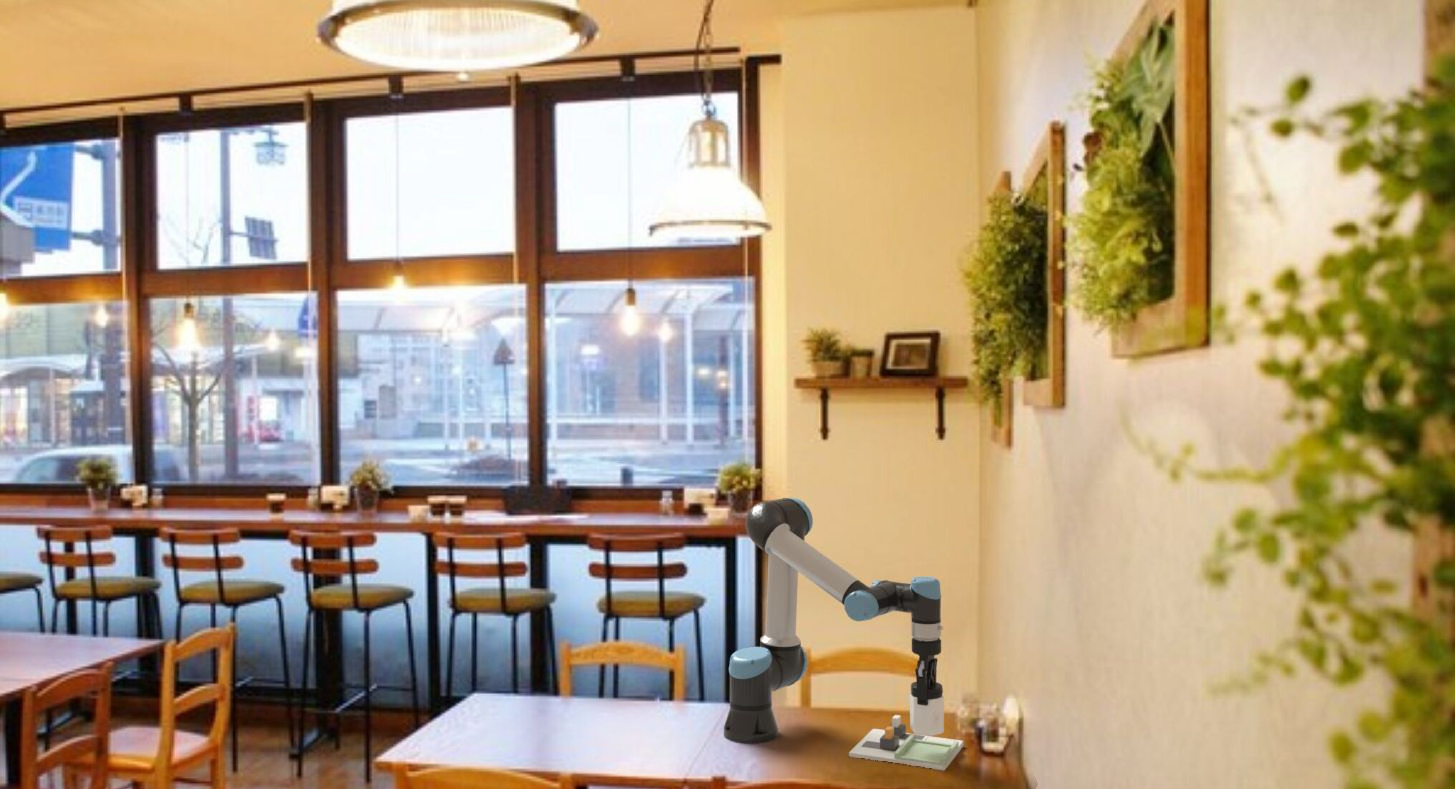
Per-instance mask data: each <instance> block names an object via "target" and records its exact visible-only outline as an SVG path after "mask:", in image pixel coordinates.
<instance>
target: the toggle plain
mask: <svg viewBox="0 0 1455 789" xmlns="http://www.w3.org/2000/svg"><path fill="white" fill-rule="evenodd" d="M906 725H907V724H905V723H902V715H899V714H895V715H893V716H892V718H891V722H890V723H889V724H888V726H891V727H894V735H895V736H899V738H902V737H903V736H904V735H905V734H906V733H907V729H906V728H907V726H906Z"/></svg>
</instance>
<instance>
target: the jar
mask: <svg viewBox="0 0 1455 789" xmlns="http://www.w3.org/2000/svg"><path fill="white" fill-rule="evenodd" d="M943 690H944V688H943V684H941V683H940V682H937V681H936V682H934V683H933V684H930V688H927V693H928V705H927V706H925V705H918V704H917V681H914V682H911V684H910V693H909V727H910V730H911V731H912V732H913V734H917V735H924V736H932V737H934V736H937V735H940V734H944V733H945V726H944V725H945V716H944V715H945V712H944V711H945V708H944V707H945V706H944V703H945V702H944V701H945V699H944V696H943V693H944V691H943Z"/></svg>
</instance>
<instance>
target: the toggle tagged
mask: <svg viewBox="0 0 1455 789" xmlns="http://www.w3.org/2000/svg"><path fill="white" fill-rule="evenodd" d="M884 730H885V734H884V735H883V736H882V737H881V738H880V748H883V749H890V750H895V749H896V748H897V747H898V746H899V736H895V735H894V727H891V726H889V725H887V726H886V728H884Z"/></svg>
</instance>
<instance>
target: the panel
mask: <svg viewBox="0 0 1455 789" xmlns="http://www.w3.org/2000/svg"><path fill="white" fill-rule="evenodd" d="M884 734H885V729H880V728H872V729H871V730H870V731H869V732H868V733H867V734H866V735H865V736H864V737H863V738H862V739H861V740H860V741H859V742H858V743H857V744H855V746H854V747H853V748H852V749H851V750H850V751H849V752H848V757H849V756H850V757H849V758H856V759H861V758H865V759H864V760H868V759H870V760H869V761H875V760H876V762H882V761H888V762H893V763H892V764H895V763H904V764H907V765H906V766H909V765H911V767H916V766H921V767H920V768H922V767H925V768H924V769H929V768H932V769H931V770H937V771H943V772H944V771H946V769H947V768H948V766H950V764H951V763H952V762H953V761H954V759H955V758H956V757H957V755H958V754H959V752H960V751H961V750H962V749H963V747H964V740H960V739H952V738H944V737H938V736H927V735H920V734H915V733H910V732H906V734H905V735H904V736H903V737H902V738H899V746H898V747H897V748H896V749H895V750H890V749H883V748H880V738H881V737H882V736H883V735H884ZM961 748H962V749H961ZM877 760H878V761H877ZM888 762H887V763H888Z"/></svg>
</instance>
